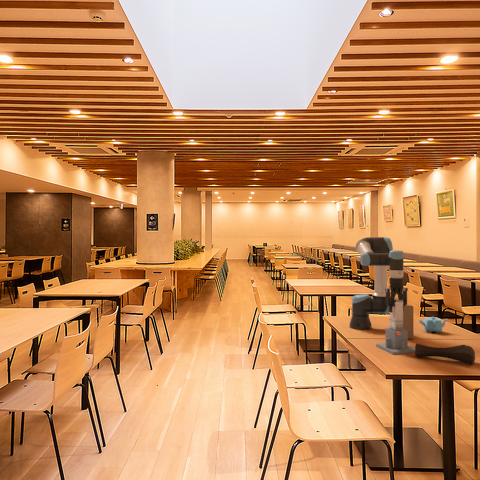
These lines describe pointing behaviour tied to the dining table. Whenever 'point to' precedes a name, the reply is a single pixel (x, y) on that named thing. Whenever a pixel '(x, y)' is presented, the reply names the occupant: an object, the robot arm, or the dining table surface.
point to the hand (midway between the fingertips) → (396, 317)
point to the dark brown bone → (447, 353)
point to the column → (397, 316)
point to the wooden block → (408, 320)
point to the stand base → (396, 342)
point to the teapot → (433, 324)
